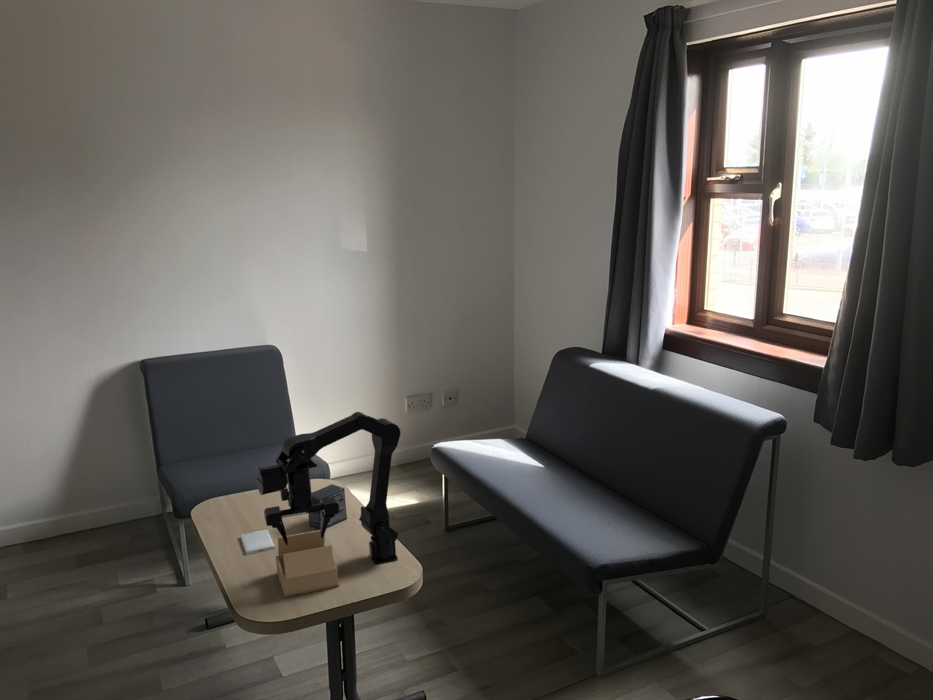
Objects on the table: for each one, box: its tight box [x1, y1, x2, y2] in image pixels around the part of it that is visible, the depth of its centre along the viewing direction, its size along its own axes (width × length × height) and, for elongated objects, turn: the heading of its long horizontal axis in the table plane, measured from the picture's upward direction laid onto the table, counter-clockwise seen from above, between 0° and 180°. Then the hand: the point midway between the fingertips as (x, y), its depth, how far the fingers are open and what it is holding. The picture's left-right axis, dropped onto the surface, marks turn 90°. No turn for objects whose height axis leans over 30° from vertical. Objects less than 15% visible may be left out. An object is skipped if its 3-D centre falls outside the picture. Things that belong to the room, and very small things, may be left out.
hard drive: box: [240, 529, 276, 556], centre depth 230 cm, size 2×8×12 cm
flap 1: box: [277, 529, 325, 556], centre depth 212 cm, size 12×6×1 cm
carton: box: [275, 554, 340, 598], centre depth 207 cm, size 14×14×5 cm
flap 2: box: [283, 544, 335, 579], centre depth 201 cm, size 12×6×1 cm
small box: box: [307, 484, 348, 530], centre depth 242 cm, size 11×6×10 cm, turn 141°
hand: (304, 541), depth 206 cm, fingers open, 9 cm apart
